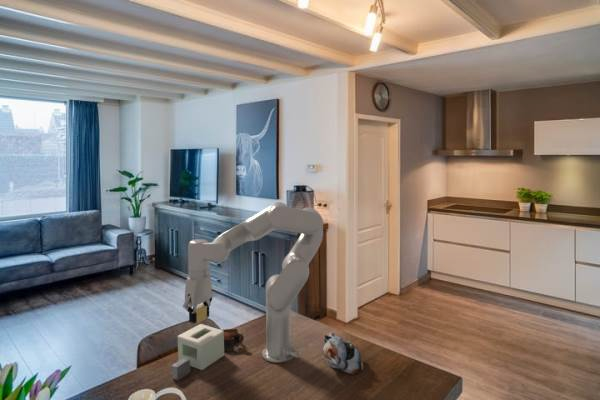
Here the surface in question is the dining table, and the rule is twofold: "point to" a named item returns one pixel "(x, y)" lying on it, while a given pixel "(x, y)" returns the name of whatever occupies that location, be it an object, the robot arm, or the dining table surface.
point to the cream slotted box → (201, 345)
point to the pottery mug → (232, 339)
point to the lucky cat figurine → (342, 354)
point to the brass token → (201, 313)
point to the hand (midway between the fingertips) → (199, 318)
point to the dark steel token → (180, 369)
